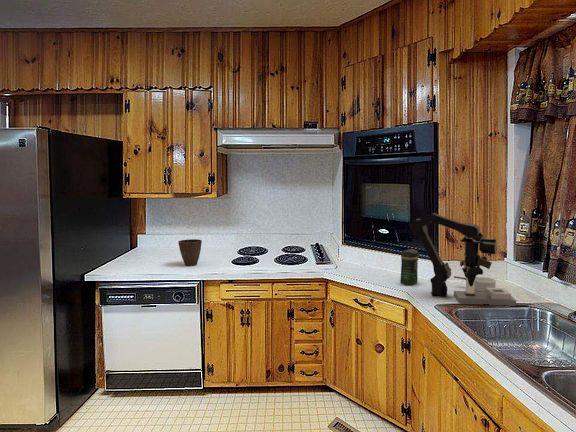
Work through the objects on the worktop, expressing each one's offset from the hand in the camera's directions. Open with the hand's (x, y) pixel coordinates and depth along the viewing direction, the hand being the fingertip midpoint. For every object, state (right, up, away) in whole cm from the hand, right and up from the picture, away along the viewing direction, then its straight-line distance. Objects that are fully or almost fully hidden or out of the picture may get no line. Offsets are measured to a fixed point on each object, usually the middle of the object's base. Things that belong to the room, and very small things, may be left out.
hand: (470, 285), depth 196 cm
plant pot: (-148, 0, +81) cm, 169 cm away
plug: (0, -4, 0) cm, 4 cm away
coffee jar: (-20, -4, +31) cm, 37 cm away
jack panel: (+6, -7, -1) cm, 9 cm away
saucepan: (+10, -5, +19) cm, 22 cm away
